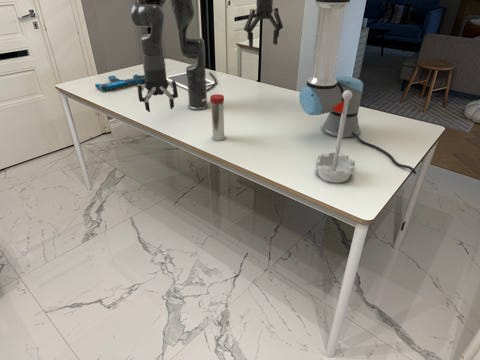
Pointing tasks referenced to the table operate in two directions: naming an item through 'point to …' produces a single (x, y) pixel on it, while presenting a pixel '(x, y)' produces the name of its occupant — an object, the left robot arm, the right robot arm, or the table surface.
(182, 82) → the tablet
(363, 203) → the table surface
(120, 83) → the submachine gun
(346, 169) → the flag stand
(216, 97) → the lid
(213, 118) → the jar
